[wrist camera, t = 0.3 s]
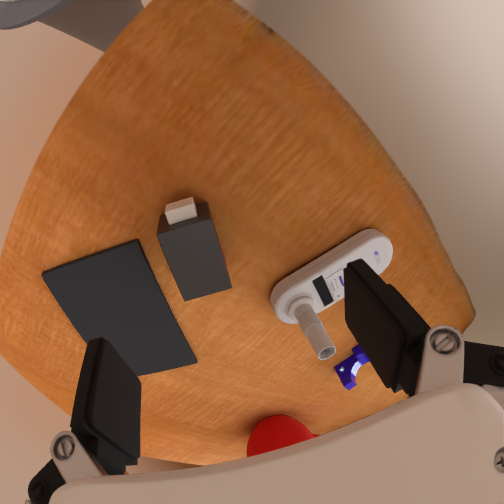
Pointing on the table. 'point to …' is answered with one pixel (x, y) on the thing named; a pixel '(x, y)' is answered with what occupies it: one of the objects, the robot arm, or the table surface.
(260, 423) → the ceramic cup
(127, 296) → the desk mat
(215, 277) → the block
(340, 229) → the table surface
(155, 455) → the table surface
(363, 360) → the cable holder
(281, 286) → the electronic device
